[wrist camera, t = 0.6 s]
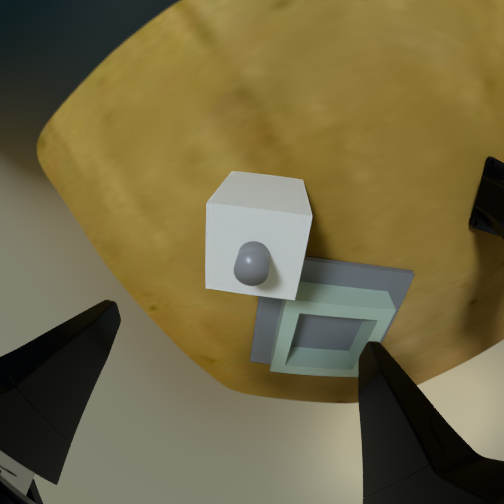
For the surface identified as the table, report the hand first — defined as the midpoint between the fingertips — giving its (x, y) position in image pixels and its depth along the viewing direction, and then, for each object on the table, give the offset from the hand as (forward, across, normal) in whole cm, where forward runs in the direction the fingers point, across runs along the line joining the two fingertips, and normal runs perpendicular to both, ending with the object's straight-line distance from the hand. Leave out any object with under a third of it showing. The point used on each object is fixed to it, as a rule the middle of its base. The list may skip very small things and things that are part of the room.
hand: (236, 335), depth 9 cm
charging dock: (+13, -7, +10) cm, 18 cm away
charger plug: (+13, 0, 0) cm, 13 cm away
